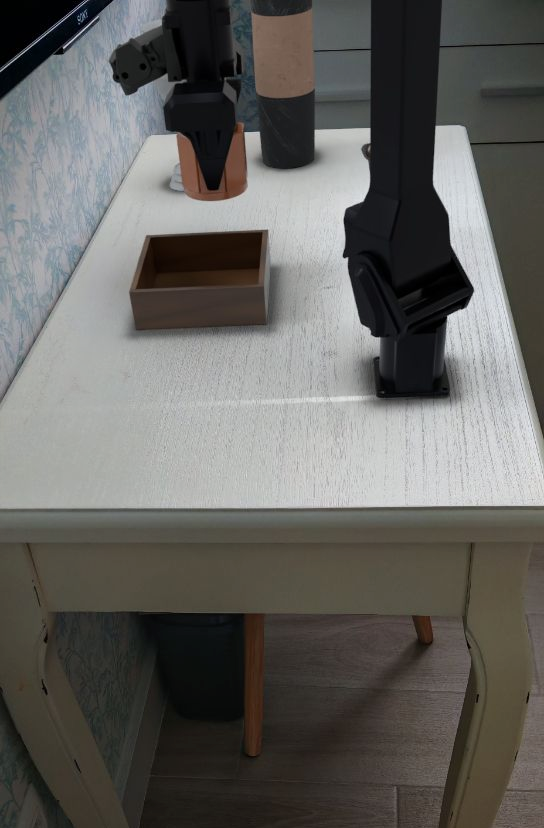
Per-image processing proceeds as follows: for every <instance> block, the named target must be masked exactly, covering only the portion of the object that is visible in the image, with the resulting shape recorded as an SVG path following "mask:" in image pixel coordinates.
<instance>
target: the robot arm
mask: <svg viewBox="0 0 544 828" xmlns="http://www.w3.org/2000/svg"><path fill="white" fill-rule="evenodd" d="M233 3H234V2H233V0H165V5H166V7H165V9H164V10H165V11H164V15H163V16H161V19H162V25H161V26H159V27H157V28H154V29H152V30H150V31H148V32H146V33H144V34H143V33H141V34H140V35H138V36H136V37H134V38H133V37H130V38H128V41H126V42H124V43H122V44H121V43H118V44H117V45H116V48H115V49H113V51H112V53H111V54H110V56H109V59H108V63H109V65H110V67H111V69H112V70H111V71H112V80H113V81H114V82H115V83H116V84H119V85H120V87H121V90H122V91H123V93H124V95H125V96H131V95H133V94H135V93H137V92H138V91H139V89H140V88H142V87H144V86H146V85H148V84H150V83H153V82H154V80H156V79H158V78H160V77H162V76H164V75H165V74H167V76H168V82H180V81H182V80H186V81H184V82H182V83H175V85H174V86H173V88H172V89H171V90H170V92H169V93H168V94H167V96H166V99H165V102H163V106H162V109H163V117H164V119H163V120H164V125H165V131H168V132H170V133H177V132H180V133H181V134H183V135H184V136H185V137H187V138H188V139H189V140H190V142H191V144H192V147H193V150H194V152H195V155H196V158H197V161H198V164H199V167H200V170H201V172H202V175H203V178H204V181H205V184H206V187H207V189H208V190H209V191H217V190H219V187H220V183H221V180H222V176H223V172H224V168H225V164H226V161H227V157H228V154H229V150H230V146H231V143H232V139H233V135H234V132H235V128H236V125H237V121H238V118H239V112H238V104H239V100H240V95H241V92H242V86H243V78H241V77H236V76H238V75H241V76H242V75H243V74H244V67H245V66H244V51H243V45H242V44H240V42H238V40H236V39H235V37H234V25H233V14H234V4H233ZM442 9H443V0H370V93H369V94H370V98H369V99H370V107H369V108H370V111H369V112H370V114H369V117H370V118H369V119H370V120H369V122H370V123H369V124H370V125H369V127H370V128H369V143H370V170H369V188H368V190H367V193H366V194H365V197H364V198H363V201H361V202H358V203H355V204H353V205H351V206H348V207H346V208H345V210H344V215H343V219H342V220H343V221H342V222H343V229H344V230H343V231H344V239H345V240H344V249H343V252H342V258H343V259H347V273H348V276H349V277H348V278H349V280H350V285H351V288H352V294H353V297H354V298H353V299H354V302H355V306H356V311H357V315H358V319H359V323H360V325H362V326H364V327H365V328H368V329H369V331H370V336H372V337H374V338H379V356H374V357H373V358H372V365H373V374H374V375H373V376H374V385H375V394H376V395H375V396H376V398H378V399H405V398H406V399H407V398H434V397H435V398H436V397H438V398H439V397H448V396H450V394H451V384H450V380H449V375H448V371H447V365H446V360H445V352H446V340H447V328H448V316H450V315H452V314H454V313H457V312H459V311H461V310H462V311H463V310H464V309H467V308H468V307H469V303H470V302H471V300H472V297H473V295H474V293H475V288H474V285H473V284H472V282H471V280H470V278H469V277H468V274H467V272H466V270H465V268H464V267H463V265H462V263H461V261H460V259H459V257H458V256H457V254H456V251H455V250H454V248H453V247H452V244H451V227H450V215H449V212H448V210H447V209H446V206H445V204H444V203H443V201H442V199H441V197H440V195H439V193H438V192H437V189H436V187H435V185H434V169H435V166H434V165H435V150H436V149H435V148H436V147H435V146H436V129H437V110H438V108H437V107H438V90H439V89H438V88H439V71H440V52H441V50H440V49H441V29H442V12H443V11H442Z"/></svg>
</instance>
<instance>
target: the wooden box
mask: <svg viewBox="0 0 544 828" xmlns="http://www.w3.org/2000/svg"><path fill="white" fill-rule="evenodd" d="M270 250H271V249H270V232H269V229H248V230H247V229H246V230H227V231H207V232H206V231H205V232H187V233H183V232H182V233H163V234H146V235H145V237H144V241H143V244H142V248H141V251H140V253H139V258H138V261H137V264H136V267H135V271H134V274H133V276H132V281H131V285H130V287H129V291H128V294H129V300H130V304H131V310H132V316H133V323H134V328H135V331H152V330H174V329H176V330H178V329H180V330H181V329H201V328H202V329H203V328H226V327H249V326H250V327H251V326H267V325H268V311H269V298H270V297H269V295H270V285H271V284H270V282H271V265H272V264H271V251H270Z"/></svg>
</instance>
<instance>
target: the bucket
mask: <svg viewBox="0 0 544 828" xmlns="http://www.w3.org/2000/svg"><path fill="white" fill-rule="evenodd" d="M176 145H178V146H177V152H178V161H179V163H180V170H181V178H182V186H183V187H184V191H183V192H184V195H186V196H187V197H188V198H190V199H192V200H196V201H202V202H221V201H227V200H230V199H233V198H236V197H239V196H241V195H242V194H244V193H246V191H247V189H248V186H249V185H248V162H247V148H246V134H245V124H244V123H243V122H241V121H238V120H237V125H236V128H235V132H234V135H233V139H232V143H231V146H230V150H229V154H228V157H227V161H226V164H225V168H224V172H223V176H222V180H221V183H220V187H219V190H217V191H209V190H208V189H207V187H206V184H205V181H204V178H203V175H202V172H201V170H200V167H199V164H198V161H197V158H196V155H195V152H194V150H193V147H192V144H191V142H190V140H189V139H188V138H187V137H185V136H184V135H183V134H181V133H180V132H176Z"/></svg>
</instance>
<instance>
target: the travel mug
mask: <svg viewBox="0 0 544 828" xmlns="http://www.w3.org/2000/svg"><path fill="white" fill-rule="evenodd" d="M250 13H251V30H252V31H251V33H252V48H253V66H254V67H253V68H254V84H255V97H256V108H257V118H258V119H257V120H258V129H259V140H260V141H259V142H260V152H261V160H262V162H263V164H265V165H266V166H268V167H270V168H276V169H294V168H295V169H296V168H300V167H304V166H306V165H308V164H310V163H312V162H313V161H314V159H315V154H316V153H315V150H316V147H315V146H316V143H315V142H316V141H315V140H316V139H315V138H316V130H315V129H316V77H315V49H314V48H315V47H314V21H313V17H314V15H313V0H250Z"/></svg>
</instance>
